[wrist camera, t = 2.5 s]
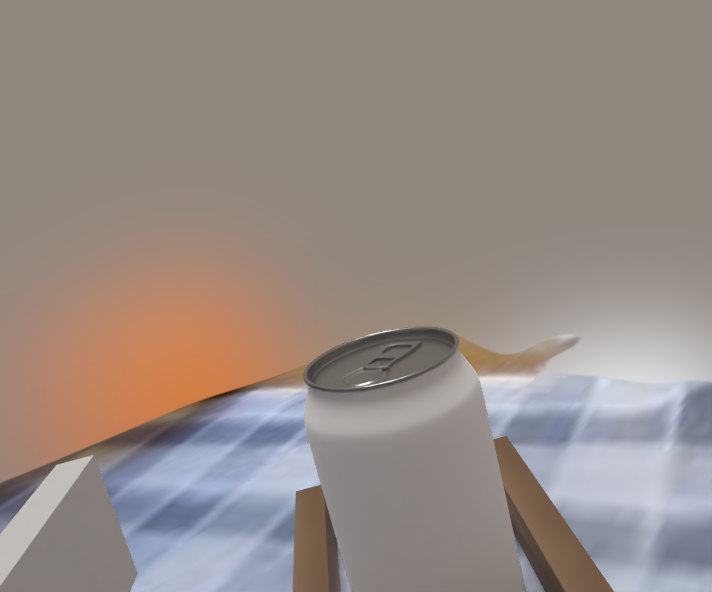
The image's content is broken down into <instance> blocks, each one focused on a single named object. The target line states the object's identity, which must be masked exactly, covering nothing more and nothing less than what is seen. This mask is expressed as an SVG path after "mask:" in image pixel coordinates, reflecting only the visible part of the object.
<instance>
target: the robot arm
mask: <svg viewBox="0 0 712 592" xmlns="http://www.w3.org/2000/svg"><path fill="white" fill-rule="evenodd" d="M136 576H137V570H136V568H135V565H134V562H133V560H132V557H131V554H130V552H129V549H128V546H127V543H126V541H125V538H124V535H123V533H122V530H121V527H120V525H119V522H118V519H117V517H116V514H115V511H114V508H113V506H112V503H111V500H110V498H109V495H108V492H107V490H106V487H105V484H104V481H103V479H102V476H101V473H100V471H99V468H98V465H97V463H96V460H95V457H94V455H92V456H89V457H85V458H81V459H77V460H74V461H70V462H66V463H62V464H59V465H56V466H55V468H54V469H53V470H52V471H51V472H50V474H49V475H48V476H47V477H46V479H45V480H44V481H43V482H42V484H41V485H40V486H39V487H38V488H37V490H36V491H35V492H34V493H33V495H32V496H31V497H30V498H29V500H28V501H27V502H26V503H25V504H24V506H23V507H22V508H21V509H20V511H19V512H18V513H17V514H16V516H15V517H14V518H13V519H12V520H11V522H10V523H9V524H8V525H7V527H6V528H5V529H4V530H3V532H2V533H1V534H0V592H130V590H131V588H132V585H133V583H134V580H135V578H136Z"/></svg>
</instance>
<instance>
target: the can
mask: <svg viewBox="0 0 712 592" xmlns="http://www.w3.org/2000/svg"><path fill="white" fill-rule="evenodd" d="M458 347H459V339H458V337H457V336H456V334H454V333H453V332H451V331H449V330H446V329H443V328H437V327H407V328H399V329H392V330H387V331H382V332H378V333H373V334H370V335H366V336H363V337H360V338H356V339H354V340H351V341H348V342H346V343H343V344H341V345H338V346H336V347H334V348H332V349H330V350H328V351H326V352H325V353H323V354H321V355H320V356H318V357H317V358H316V359H314V360H313V361H312V362H311V363H310V364H309V365H308V366H307V367H306V369H305V371H304V375H303V377H304V381H305V383H306V384H307V385H308V394H307V399H306V404H305V410H304V422H305V427H306V431H307V435H308V439H309V443H310V447H311V450H312V454H313V458H314V461H315V465H316V469H317V472H318V476H319V479H320V483H321V486H322V490H323V493H324V497H325V501H326V504H327V508H328V511H329V515H330V518H331V522H332V525H333V529H334V532H335V536H336V539H337V543H338V546H339V550H340V553H341V557H342V560H343V564H344V567H345V571H346V574H347V578H348V581H349V585H350V588H351V592H526V589H525V585H524V580H523V575H522V570H521V566H520V561H519V556H518V551H517V547H516V542H515V537H514V533H513V528H512V524H511V519H510V514H509V510H508V505H507V500H506V496H505V491H504V487H503V482H502V477H501V473H500V468H499V464H498V459H497V454H496V450H495V445H494V441H493V436H492V432H491V427H490V423H489V418H488V414H487V409H486V405H485V401H484V396H483V392H482V388H481V384H480V381H479V378H478V375H477V373H476V372H475V370H474V369H473V367H472V366H471V365H470V363H469V362H468V361H467V360H466V359H465V357H464V356H463V355H462V354H461V352H460V351H459V349H458Z"/></svg>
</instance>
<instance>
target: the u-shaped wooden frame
mask: <svg viewBox="0 0 712 592" xmlns="http://www.w3.org/2000/svg"><path fill="white" fill-rule="evenodd" d="M493 441H494V445H495V450H496V454H497V459H498V464H499V468H500V473H501V477H502V482H503V487H504V491H505V496H506V500H507V505H508V510H509V514H510V519H511V524H512V528H513V532H514V534H515V535H516V537H517V539H518V541H519V543H520V545H521V547H522V548H523V550H524V552H525V554H526V556H527V558H528V560H529V562H530V563H531V565H532V567H533V569H534V571H535V573H536V575H537V576H538V578H539V580H540V582H541V584H542V586H543V588H544V589H545V591H546V592H614V591H613V590H612V588H611V587H610V585H609V584H608V582H607V581H606V580H605V578H604V577H603V575H602V574H601V572H600V571H599V569H598V568H597V567H596V565H595V564H594V562H593V561H592V559H591V558H590V556H589V555H588V554H587V552H586V551H585V549H584V548H583V546H582V545H581V543H580V542H579V541H578V539H577V538H576V536H575V535H574V533H573V532H572V530H571V529H570V527H569V526H568V525H567V523H566V522H565V520H564V519H563V517H562V516H561V514H560V513H559V512H558V510H557V509H556V507H555V506H554V504H553V503H552V501H551V500H550V499H549V497H548V496H547V494H546V493H545V491H544V490H543V488H542V487H541V486H540V484H539V483H538V481H537V480H536V478H535V477H534V475H533V474H532V473H531V471H530V470H529V468H528V467H527V465H526V464H525V462H524V461H523V460H522V458H521V457H520V455H519V454H518V452H517V451H516V449H515V448H514V447H513V445H512V444H511V442H510V441H509V439H508V438H507V436H505V437H501V438H498V439H494V440H493ZM293 592H340V581H339V568H338V555H337V542H336V536H335V532H334V529H333V525H332V522H331V518H330V515H329V511H328V508H327V504H326V501H325V497H324V493H323V490H322V486H321V485H319V486H315V487H311V488H307V489H304V490H300V491H296V507H295V540H294V573H293Z"/></svg>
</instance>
